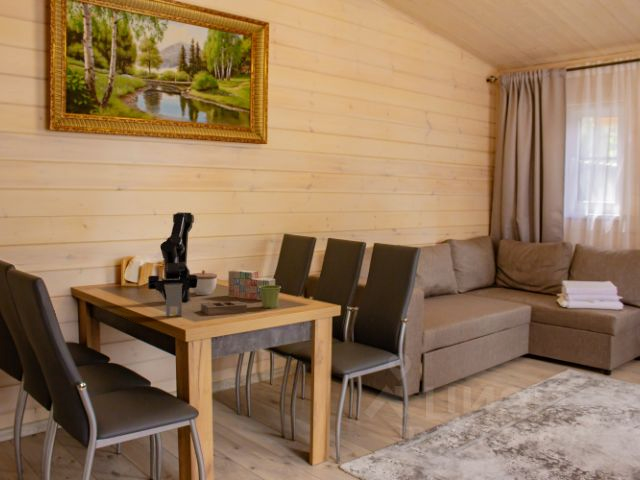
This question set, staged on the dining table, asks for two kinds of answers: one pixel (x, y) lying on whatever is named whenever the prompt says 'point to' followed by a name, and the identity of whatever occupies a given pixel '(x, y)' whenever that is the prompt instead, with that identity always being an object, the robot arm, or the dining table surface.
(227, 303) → the brown holed block
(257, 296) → the stack of blocks
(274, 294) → the plant pot
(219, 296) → the dining table surface
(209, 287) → the lidded bowl
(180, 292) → the grey tall block
